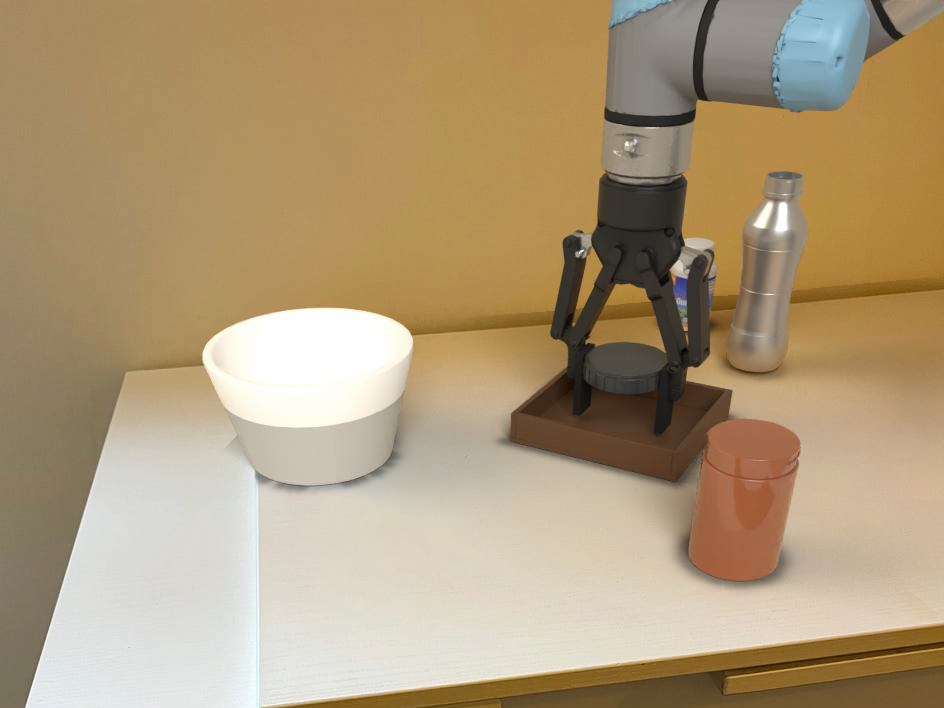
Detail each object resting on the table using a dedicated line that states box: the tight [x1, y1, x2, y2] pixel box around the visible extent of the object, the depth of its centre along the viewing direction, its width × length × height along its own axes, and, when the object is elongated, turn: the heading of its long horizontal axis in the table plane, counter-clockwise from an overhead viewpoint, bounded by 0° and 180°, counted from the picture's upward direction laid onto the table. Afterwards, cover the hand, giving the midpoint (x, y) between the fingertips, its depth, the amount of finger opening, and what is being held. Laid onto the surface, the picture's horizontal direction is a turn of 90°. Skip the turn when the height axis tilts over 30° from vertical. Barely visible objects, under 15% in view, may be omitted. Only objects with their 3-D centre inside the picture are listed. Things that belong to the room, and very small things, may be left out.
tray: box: [509, 366, 734, 483], centre depth 99 cm, size 17×15×3 cm
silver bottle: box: [725, 170, 809, 373], centre depth 105 cm, size 6×7×20 cm
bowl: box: [202, 307, 415, 486], centre depth 94 cm, size 19×19×11 cm
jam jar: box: [687, 418, 801, 582], centre depth 78 cm, size 7×7×11 cm
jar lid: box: [583, 341, 668, 394], centre depth 96 cm, size 8×8×2 cm
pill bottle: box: [670, 237, 718, 332], centre depth 118 cm, size 5×5×10 cm
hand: (621, 418), depth 99 cm, fingers closed on jar lid, 8 cm apart
